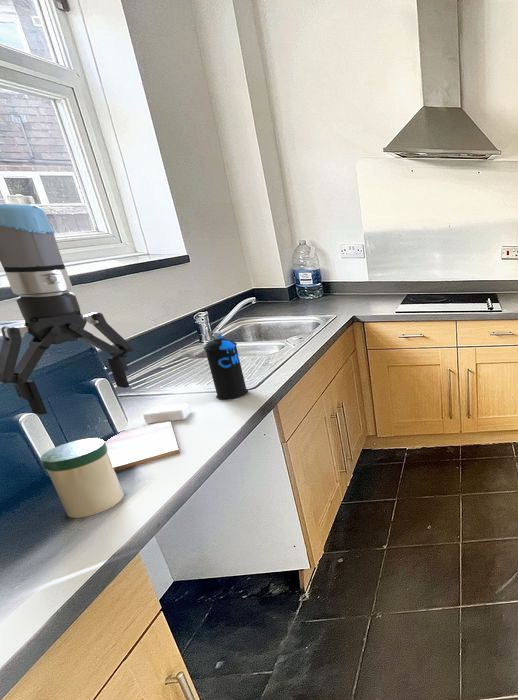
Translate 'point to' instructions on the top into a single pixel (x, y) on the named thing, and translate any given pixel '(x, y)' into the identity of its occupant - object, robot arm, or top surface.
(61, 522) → the top surface
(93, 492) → the jar
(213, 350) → the aerosol can
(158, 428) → the white flat board
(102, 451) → the lid
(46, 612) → the top surface
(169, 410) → the soap
